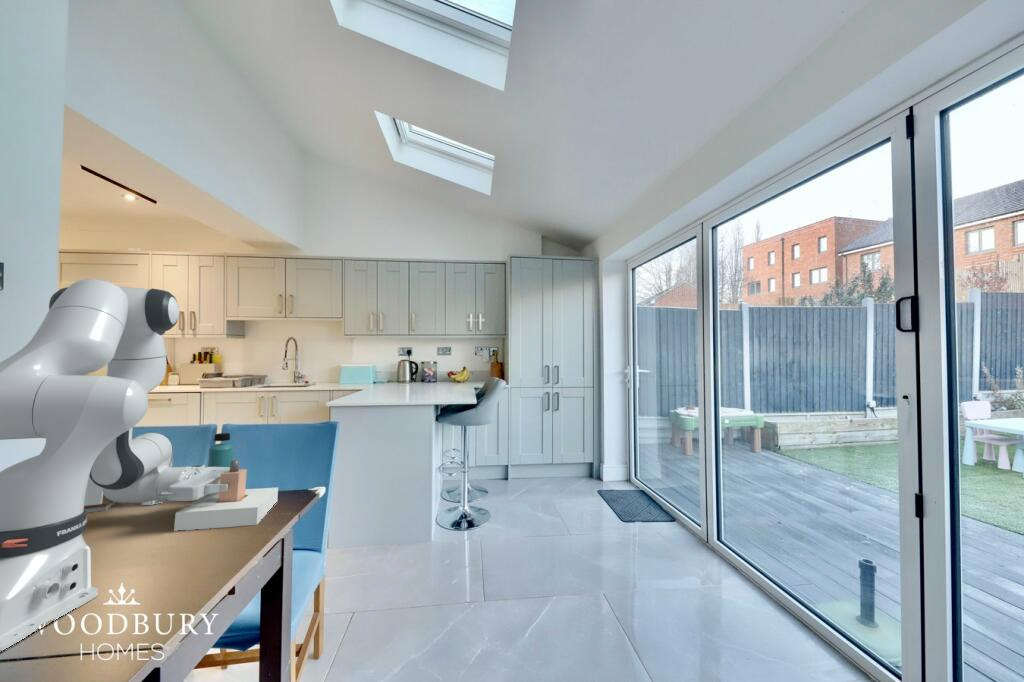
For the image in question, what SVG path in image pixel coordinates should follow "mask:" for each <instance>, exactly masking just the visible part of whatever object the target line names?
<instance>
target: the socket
mask: <svg viewBox="0 0 1024 682" xmlns="http://www.w3.org/2000/svg"><path fill="white" fill-rule="evenodd" d="M278 494H279V487H264V488H245V498H244V499H243V500H242V501H240V502H225V503H218V501H219V492H215V493H210V494H207V495H205V496H203V497H201V498H199V499H197V500H193V501H192V502H190V503H189V504H187V505H186V506H184V507H183V508H180V509H179V510H178V511H175V516H174V517H175V518H174V525H173V526H174V529H173V531H174V532H179V531H178V530H186V531H196V530H195V529H199V530H208V529H209V530H210V528H211V529H221V528H235V527H246V526H247V527H248V526H257V525H258V524H259V523H260V522H261V521H262V520H261V519H264V518H265V516H267V515H268V513H269V512H270V511H271V510H272V509H273V508H274V507H273V505H274V504H275V503H276V502H277V503H278V496H279V495H278ZM277 503H276V504H277ZM276 504H275V505H276ZM275 505H274V506H275ZM272 507H273V508H272ZM271 508H272V509H271ZM270 509H271V510H270ZM269 510H270V511H269ZM268 511H269V512H268ZM267 512H268V513H267Z"/></svg>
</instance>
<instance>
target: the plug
mask: <svg viewBox="0 0 1024 682" xmlns="http://www.w3.org/2000/svg"><path fill="white" fill-rule="evenodd" d="M247 473H248V469H247V468H243V469H240V459H233V460H231V462H230V470H228V471H225V472H223V473H221V476H220V484H222V483H229V484H230V486H229V489H228V490H226V491H220V492H219V501H218V503H225V502H240V501H242V500H243V499H244V498H245V489H247V488H246V486H247V485H246V484H247Z"/></svg>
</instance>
